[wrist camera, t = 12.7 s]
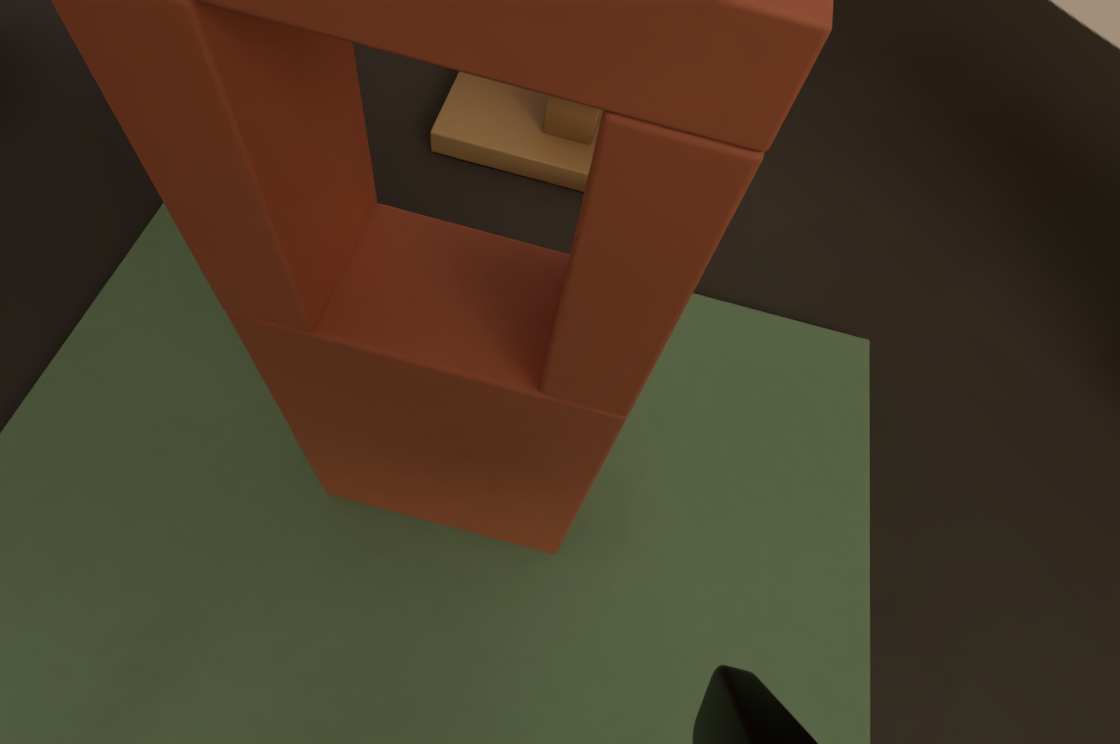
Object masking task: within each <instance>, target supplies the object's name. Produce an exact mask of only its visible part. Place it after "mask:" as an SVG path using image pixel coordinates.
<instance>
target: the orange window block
mask: <svg viewBox="0 0 1120 744" xmlns="http://www.w3.org/2000/svg"><path fill="white" fill-rule="evenodd" d="M51 2H52V4H53V5H54V7H55V9H56V11H57V12H58V14H59V16H60V18H61V20H62V21H63V23H64V25H65V27H66V29H67V30H68V32H69V34H70V36H71V38H72V39H73V41H74V43H75V45H76V47H77V48H78V50H79V52H80V54H81V55H82V57H83V59H84V61H85V63H86V64H87V66H88V68H89V70H90V72H91V73H92V75H93V77H94V79H95V81H96V82H97V84H98V86H99V88H100V90H101V91H102V93H103V95H104V97H105V99H106V100H107V102H108V104H109V106H110V107H111V109H112V111H113V113H114V115H115V116H116V118H117V120H118V122H119V124H120V125H121V127H122V129H123V131H124V133H125V134H126V136H127V138H128V140H129V142H130V143H131V145H132V147H133V149H134V150H135V152H136V154H137V156H138V158H139V159H140V161H141V163H142V165H143V167H144V168H145V170H146V172H147V174H148V176H149V177H150V179H151V181H152V183H153V185H154V186H155V188H156V190H157V192H158V194H159V195H160V197H161V199H162V201H163V202H164V204H165V206H166V208H167V210H168V211H169V213H170V215H171V217H172V219H173V220H174V222H175V224H176V226H177V228H178V229H179V231H180V233H181V235H182V237H183V238H184V240H185V242H186V244H187V245H188V247H189V249H190V251H191V253H192V254H193V256H194V258H195V260H196V262H197V263H198V265H199V267H200V269H201V271H202V272H203V274H204V276H205V278H206V280H207V281H208V283H209V285H210V287H211V288H212V290H213V292H214V294H215V296H216V297H217V299H218V301H219V303H220V305H221V306H222V308H223V309H224V310H226V314H227V315H228V317H229V319H230V321H231V323H232V324H233V326H234V328H235V330H236V332H237V333H238V335H239V337H240V339H241V341H242V342H243V344H244V346H245V348H246V350H247V351H248V353H249V355H250V357H251V359H252V360H253V362H254V364H255V366H256V368H257V369H258V371H259V373H260V375H261V377H262V378H263V380H264V382H265V384H266V386H267V387H268V389H269V391H270V393H271V395H272V396H273V398H274V400H275V402H276V404H277V405H278V407H279V409H280V411H281V413H282V414H283V416H284V418H285V420H286V422H287V423H288V425H289V427H290V429H291V431H292V432H293V434H294V436H295V438H296V440H297V441H298V443H299V445H300V447H301V449H302V450H303V452H304V454H305V456H306V458H307V459H308V461H309V463H310V465H311V467H312V468H313V470H314V472H315V474H316V476H317V477H318V479H319V481H320V483H321V485H322V486H323V488H324V490H325V492H326V493H327V494H330V495H334V496H338V497H341V498H345V499H349V500H353V501H356V502H360V503H364V504H368V505H371V506H375V507H379V508H383V509H386V510H390V511H394V512H398V513H401V514H405V515H409V516H412V517H416V518H420V519H424V520H427V521H431V522H435V523H439V524H442V525H446V526H450V527H454V528H457V529H461V530H465V531H469V532H472V533H476V534H480V535H484V536H487V537H491V538H495V539H499V540H502V541H506V542H510V543H514V544H517V545H521V546H525V547H529V548H532V549H536V550H540V551H544V552H547V553H551V554H556V553H557V551H558V549H559V548H560V546H561V544H562V542H563V540H564V538H565V536H566V534H567V532H568V530H569V528H570V527H571V525H572V523H573V521H574V519H575V517H576V515H577V513H578V511H579V509H580V507H581V506H582V504H583V502H584V500H585V498H586V496H587V494H588V492H589V490H590V488H591V486H592V484H593V483H594V481H595V479H596V477H597V475H598V473H599V471H600V469H601V467H602V465H603V463H604V462H605V460H606V458H607V456H608V454H609V452H610V450H611V448H612V446H613V444H614V442H615V441H616V439H617V437H618V435H619V433H620V431H621V429H622V427H623V425H624V423H625V421H626V419H627V418H628V415H629V413H630V412H631V410H632V408H633V406H634V404H635V402H636V400H637V399H638V397H639V395H640V393H641V391H642V389H643V387H644V385H645V383H646V381H647V379H648V378H649V376H650V374H651V372H652V370H653V368H654V366H655V364H656V362H657V360H658V358H659V357H660V355H661V353H662V351H663V349H664V347H665V345H666V343H667V341H668V339H669V337H670V336H671V334H672V332H673V330H674V328H675V326H676V324H677V322H678V320H679V318H680V316H681V315H682V313H683V311H684V309H685V307H686V305H687V303H688V301H689V299H690V297H691V295H692V293H693V292H694V290H695V288H696V286H697V284H698V282H699V280H700V278H701V276H702V274H703V272H704V271H705V269H706V267H707V265H708V263H709V261H710V259H711V257H712V255H713V253H714V251H715V250H716V248H717V246H718V244H719V242H720V240H721V238H722V236H723V234H724V232H725V230H726V229H727V227H728V225H729V223H730V221H731V219H732V217H733V215H734V213H735V211H736V209H737V207H738V206H739V204H740V202H741V200H742V198H743V196H744V194H745V192H746V190H747V188H748V186H749V185H750V183H751V181H752V179H753V177H754V175H755V173H756V171H757V169H758V167H759V165H760V164H761V162H762V160H763V157H764V152H766V151H767V150H768V149H769V148H770V146H771V144H772V142H773V141H774V139H775V137H776V135H777V133H778V131H779V129H780V127H781V125H782V123H783V122H784V120H785V118H786V116H787V114H788V112H789V110H790V108H791V106H792V104H793V102H794V101H795V99H796V97H797V95H798V93H799V91H800V89H801V87H802V85H803V83H804V82H805V80H806V78H807V76H808V74H809V72H810V70H811V68H812V66H813V64H814V62H815V61H816V59H817V57H818V55H819V53H820V51H821V49H822V47H823V45H824V43H825V42H826V40H827V38H828V36H829V34H830V32H831V30H832V18H833V0H51ZM353 43H356V44H359V45H363V46H367V47H371V48H374V49H378V50H382V51H385V52H389V53H393V54H397V55H400V56H404V57H408V58H412V59H415V60H419V61H423V62H426V63H430V64H434V65H438V66H441V67H445V68H449V69H452V70H456V71H460V72H464V73H467V74H471V75H475V76H478V77H482V78H486V79H490V80H493V81H497V82H501V83H505V84H508V85H512V86H516V87H519V88H523V89H527V90H531V91H534V92H538V93H542V94H545V95H549V96H553V97H557V98H560V99H564V100H568V101H572V102H575V103H579V104H583V105H586V106H590V107H594V108H598V109H601V110H603V113H602V117H601V121H600V125H599V130H598V134H597V139H596V143H595V147H594V152H593V156H592V161H591V165H590V170H589V174H588V178H587V183H586V187H585V192H584V196H583V200H582V205H581V209H580V214H579V218H578V222H577V227H576V231H575V236H574V240H573V244H572V249H571V253H570V254H566V253H562V252H559V251H555V250H551V249H548V248H544V247H540V246H536V245H533V244H529V243H525V242H521V241H518V240H514V239H510V238H507V237H503V236H499V235H495V234H492V233H488V232H484V231H480V230H477V229H473V228H469V227H466V226H462V225H458V224H454V223H451V222H447V221H443V220H439V219H436V218H432V217H428V216H425V215H421V214H417V213H413V212H410V211H406V210H402V209H398V208H395V207H391V206H387V205H383V204H380V203H376V202H377V196H376V190H375V183H374V177H373V171H372V164H371V158H370V151H369V145H368V139H367V132H366V126H365V119H364V113H363V107H362V100H361V94H360V88H359V81H358V75H357V68H356V62H355V56H354V49H353Z"/></svg>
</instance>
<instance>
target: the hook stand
mask: <svg viewBox="0 0 1120 744" xmlns="http://www.w3.org/2000/svg"><path fill="white" fill-rule="evenodd" d="M602 113H603V110H601V109H598V108H594V107H590V106H586V105H583V104H579V103H575V102H572V101H568V100H564V99H560V98H557V97H553V96H549V95H545V94H542V93H538V92H534V91H531V90H527V89H523V88H519V87H516V86H512V85H508V84H505V83H501V82H497V81H493V80H490V79H486V78H482V77H478V76H475V75H471V74H467V73H464V72H460V71H459V73H458V75H457V77H456V79H455V81H454V83H453V85H452V88H451V90H450V92H449V94H448V96H447V98H446V100H445V102H444V104H443V107H442V109H441V111H440V113H439V115H438V117H437V119H436V121H435V123H434V126H433V128H432V130H431V132H430V135H431V151H432V152H435V153H439V154H443V155H447V156H450V157H454V158H458V159H462V160H465V161H469V162H473V163H477V164H480V165H484V166H488V167H492V168H495V169H499V170H503V171H507V172H510V173H514V174H518V175H522V176H525V177H529V178H533V179H537V180H540V181H544V182H548V183H552V184H555V185H559V186H563V187H567V188H570V189H574V190H578V191H582V192H585V187H586V183H587V178H588V174H589V170H590V165H591V161H592V156H593V152H594V147H595V143H596V139H597V134H598V130H599V125H600V121H601V117H602Z"/></svg>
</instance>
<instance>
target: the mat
mask: <svg viewBox="0 0 1120 744" xmlns="http://www.w3.org/2000/svg"><path fill="white" fill-rule="evenodd" d="M720 665H727V666H731V667H735V668H739V669H743V670H747V671H750V672H752V673H754V674H755V675H756V676H757V677H758V678H759V679H760V680H761V682H762V683H763V684H764V685H765V686H766V687H767V688H768V689H769V690H770V691H771V692H772V694H773V695H774V696H775V697H776V698H777V699H778V700H779V701H780V702H781V703H782V705H783V706H784V707H785V708H786V709H787V710H788V711H789V712H790V713H791V714H792V715H793V717H794V718H795V719H796V720H797V721H798V722H799V723H800V724H801V725H802V726H803V727H804V729H805V730H806V731H807V732H808V733H809V734H810V735H811V736H812V737H813V738H814V739H815V741H816V742H817V743H818V744H870V402H869V340H867V339H863V338H859V337H856V336H852V335H848V334H844V333H841V332H837V331H833V330H829V329H826V328H822V327H818V326H814V325H811V324H807V323H803V322H799V321H796V320H792V319H788V318H784V317H781V316H777V315H773V314H769V313H766V312H762V311H758V310H754V309H751V308H747V307H743V306H739V305H736V304H732V303H728V302H724V301H720V300H717V299H713V298H709V297H705V296H702V295H698V294H694V293H692V295H691V297H690V299H689V301H688V303H687V305H686V307H685V309H684V311H683V313H682V315H681V316H680V318H679V320H678V322H677V324H676V326H675V328H674V330H673V332H672V334H671V336H670V337H669V339H668V341H667V343H666V345H665V347H664V349H663V351H662V353H661V355H660V357H659V358H658V360H657V362H656V364H655V366H654V368H653V370H652V372H651V374H650V376H649V378H648V379H647V381H646V383H645V385H644V387H643V389H642V391H641V393H640V395H639V397H638V399H637V400H636V402H635V404H634V406H633V408H632V410H631V412H630V413H629V415H628V418H627V419H626V421H625V423H624V425H623V427H622V429H621V431H620V433H619V435H618V437H617V439H616V441H615V442H614V444H613V446H612V448H611V450H610V452H609V454H608V456H607V458H606V460H605V462H604V463H603V465H602V467H601V469H600V471H599V473H598V475H597V477H596V479H595V481H594V483H593V484H592V486H591V488H590V490H589V492H588V494H587V496H586V498H585V500H584V502H583V504H582V506H581V507H580V509H579V511H578V513H577V515H576V517H575V519H574V521H573V523H572V525H571V527H570V528H569V530H568V532H567V534H566V536H565V538H564V540H563V542H562V544H561V546H560V548H559V549H558V551H557V553H556V554H551V553H547V552H544V551H540V550H536V549H532V548H529V547H525V546H521V545H517V544H514V543H510V542H506V541H502V540H499V539H495V538H491V537H487V536H484V535H480V534H476V533H472V532H469V531H465V530H461V529H457V528H454V527H450V526H446V525H442V524H439V523H435V522H431V521H427V520H424V519H420V518H416V517H412V516H409V515H405V514H401V513H398V512H394V511H390V510H386V509H383V508H379V507H375V506H371V505H368V504H364V503H360V502H356V501H353V500H349V499H345V498H341V497H338V496H334V495H330V494H327V493H326V492H325V490H324V488H323V486H322V485H321V483H320V481H319V479H318V477H317V476H316V474H315V472H314V470H313V468H312V467H311V465H310V463H309V461H308V459H307V458H306V456H305V454H304V452H303V450H302V449H301V447H300V445H299V443H298V441H297V440H296V438H295V436H294V434H293V432H292V431H291V429H290V427H289V425H288V423H287V422H286V420H285V418H284V416H283V414H282V413H281V411H280V409H279V407H278V405H277V404H276V402H275V400H274V398H273V396H272V395H271V393H270V391H269V389H268V387H267V386H266V384H265V382H264V380H263V378H262V377H261V375H260V373H259V371H258V369H257V368H256V366H255V364H254V362H253V360H252V359H251V357H250V355H249V353H248V351H247V350H246V348H245V346H244V344H243V342H242V341H241V339H240V337H239V335H238V333H237V332H236V330H235V328H234V326H233V324H232V323H231V321H230V319H229V317H228V315H227V314H226V310H224V309H223V308H222V306H221V305H220V303H219V301H218V299H217V297H216V296H215V294H214V292H213V290H212V288H211V287H210V285H209V283H208V281H207V280H206V278H205V276H204V274H203V272H202V271H201V269H200V267H199V265H198V263H197V262H196V260H195V258H194V256H193V254H192V253H191V251H190V249H189V247H188V245H187V244H186V242H185V240H184V238H183V237H182V235H181V233H180V231H179V229H178V228H177V226H176V224H175V222H174V220H173V219H172V217H171V215H170V213H169V211H168V210H167V208H166V206H165V204H164V203H163V204H162V205H161V207H160V208H159V210H158V211H157V212H156V214H155V215H154V217H153V218H152V220H151V221H150V222H149V224H148V225H147V227H146V228H145V229H144V231H143V232H142V234H141V235H140V236H139V238H138V239H137V241H136V242H135V244H134V245H133V246H132V248H131V249H130V251H129V252H128V253H127V255H126V256H125V258H124V259H123V260H122V262H121V263H120V265H119V266H118V268H117V269H116V270H115V272H114V273H113V275H112V276H111V277H110V279H109V280H108V282H107V283H106V284H105V286H104V287H103V289H102V290H101V292H100V293H99V294H98V296H97V297H96V299H95V300H94V301H93V303H92V304H91V306H90V307H89V308H88V310H87V311H86V313H85V314H84V316H83V317H82V318H81V320H80V321H79V323H78V324H77V325H76V327H75V328H74V330H73V331H72V332H71V334H70V335H69V337H68V338H67V340H66V341H65V342H64V344H63V345H62V347H61V348H60V349H59V351H58V352H57V354H56V355H55V356H54V358H53V359H52V361H51V362H50V364H49V365H48V366H47V368H46V369H45V371H44V372H43V373H42V375H41V376H40V378H39V379H38V380H37V382H36V383H35V385H34V386H33V388H32V389H31V390H30V392H29V393H28V395H27V396H26V397H25V399H24V400H23V402H22V403H21V404H20V406H19V407H18V409H17V410H16V412H15V413H14V414H13V416H12V417H11V419H10V420H9V421H8V423H7V424H6V426H5V427H4V428H3V430H2V431H1V433H0V744H692V742H693V729H694V724H695V720H696V717H697V714H698V711H699V708H700V706H701V703H702V700H703V698H704V695H705V692H706V690H707V687H708V684H709V682H710V679H711V676H712V674H713V672H714V670H715V669H716V668H717V667H718V666H720Z"/></svg>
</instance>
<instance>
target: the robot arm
mask: <svg viewBox="0 0 1120 744" xmlns="http://www.w3.org/2000/svg"><path fill="white" fill-rule="evenodd" d="M692 744H818V743H817V742H816V741H815V739H814V738H813V737H812V736H811V735H810V734H809V733H808V732H807V731H806V730H805V729H804V727H803V726H802V725H801V724H800V723H799V722H798V721H797V720H796V719H795V718H794V717H793V715H792V714H791V713H790V712H789V711H788V710H787V709H786V708H785V707H784V706H783V705H782V703H781V702H780V701H779V700H778V699H777V698H776V697H775V696H774V695H773V694H772V692H771V691H770V690H769V689H768V688H767V687H766V686H765V685H764V684H763V683H762V682H761V680H760V679H759V678H758V677H757V676H756V675H755V674H754V673H752V672H750V671H747V670H743V669H739V668H735V667H731V666H727V665H720V666H718V667H717V668H716V669H715V670H714V672H713V674H712V676H711V679H710V682H709V684H708V687H707V690H706V692H705V695H704V698H703V700H702V703H701V706H700V708H699V711H698V714H697V717H696V720H695V724H694V729H693V742H692Z"/></svg>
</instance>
